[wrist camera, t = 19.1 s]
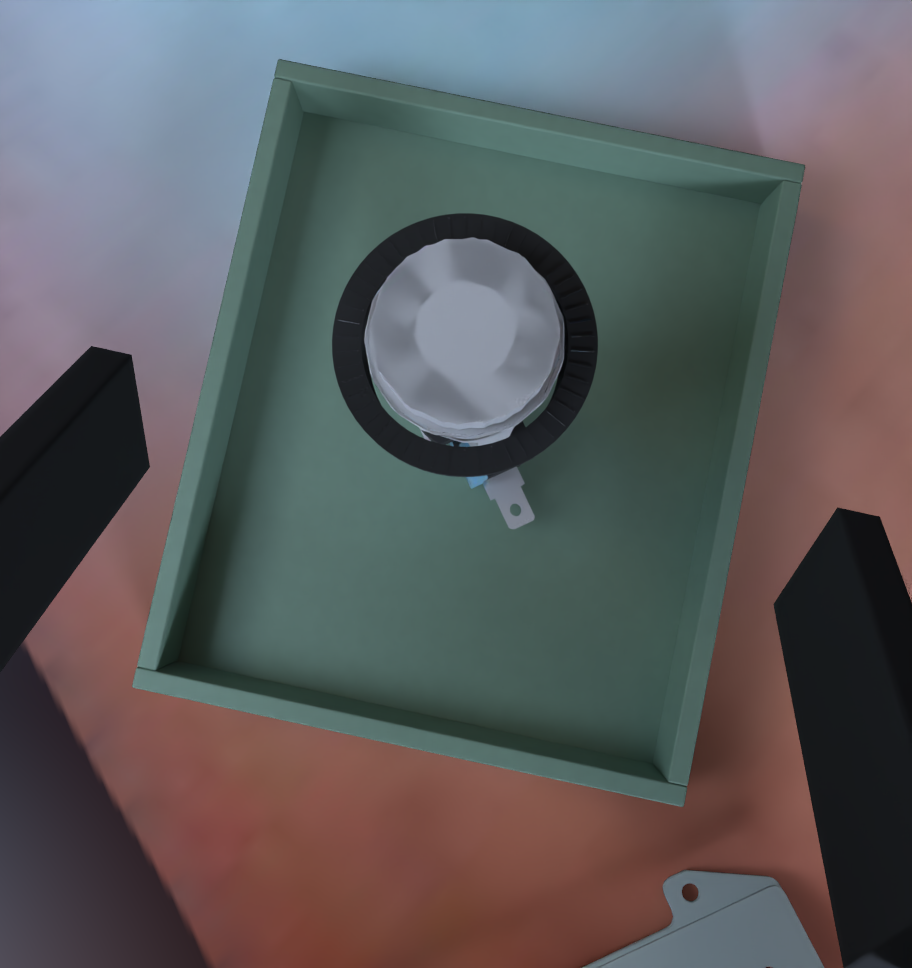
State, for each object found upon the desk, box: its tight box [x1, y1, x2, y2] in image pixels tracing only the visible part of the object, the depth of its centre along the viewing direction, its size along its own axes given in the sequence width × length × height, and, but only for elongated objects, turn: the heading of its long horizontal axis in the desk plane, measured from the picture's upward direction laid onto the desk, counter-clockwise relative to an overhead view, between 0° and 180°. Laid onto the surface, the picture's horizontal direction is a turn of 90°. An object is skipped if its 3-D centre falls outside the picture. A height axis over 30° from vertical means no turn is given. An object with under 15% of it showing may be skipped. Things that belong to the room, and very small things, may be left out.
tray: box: [132, 59, 805, 807], centre depth 24 cm, size 19×16×2 cm
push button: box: [332, 213, 598, 529], centre depth 19 cm, size 7×5×10 cm
